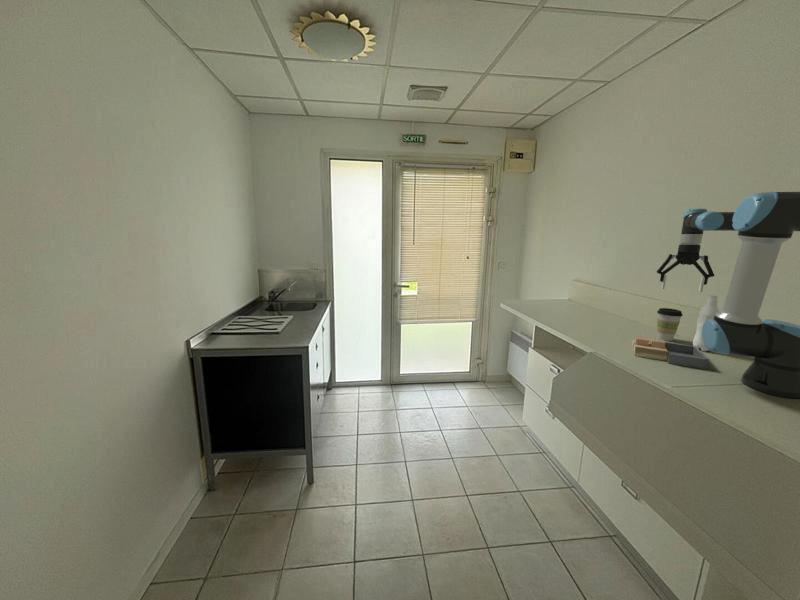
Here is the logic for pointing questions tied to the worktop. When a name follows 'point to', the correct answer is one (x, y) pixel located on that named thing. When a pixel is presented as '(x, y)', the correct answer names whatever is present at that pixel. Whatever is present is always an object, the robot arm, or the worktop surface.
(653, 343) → the tile
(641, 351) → the board
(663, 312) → the coffee cup
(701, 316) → the water bottle
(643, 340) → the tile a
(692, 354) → the tray
